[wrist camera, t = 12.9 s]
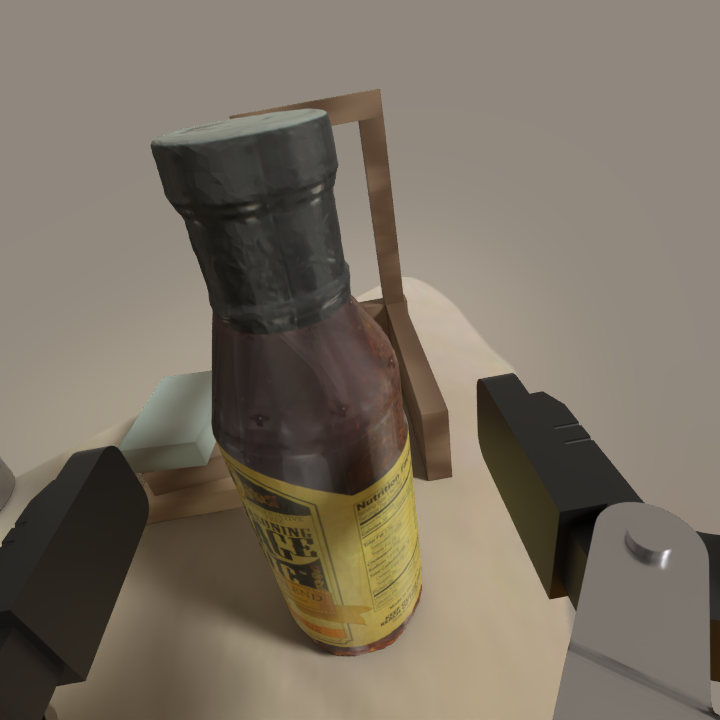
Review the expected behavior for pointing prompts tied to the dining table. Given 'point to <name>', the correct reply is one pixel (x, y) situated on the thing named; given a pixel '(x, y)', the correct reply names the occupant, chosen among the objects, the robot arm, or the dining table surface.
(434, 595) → the dining table surface
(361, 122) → the walnut rack
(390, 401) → the sauce bottle
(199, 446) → the offcut stack
